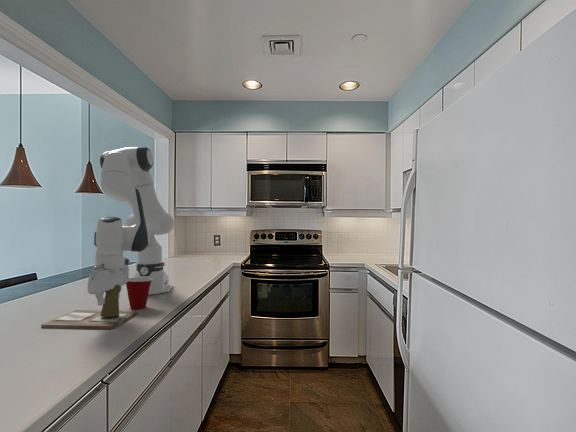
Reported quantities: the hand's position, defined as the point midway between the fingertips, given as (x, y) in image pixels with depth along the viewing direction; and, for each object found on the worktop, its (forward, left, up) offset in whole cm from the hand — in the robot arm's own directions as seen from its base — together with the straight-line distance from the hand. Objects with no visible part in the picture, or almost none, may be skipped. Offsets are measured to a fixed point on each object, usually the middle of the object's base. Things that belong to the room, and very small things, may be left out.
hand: (109, 301), depth 124 cm
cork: (0, 0, -5) cm, 5 cm away
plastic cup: (-18, +2, -7) cm, 20 cm away
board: (0, -6, -7) cm, 9 cm away
